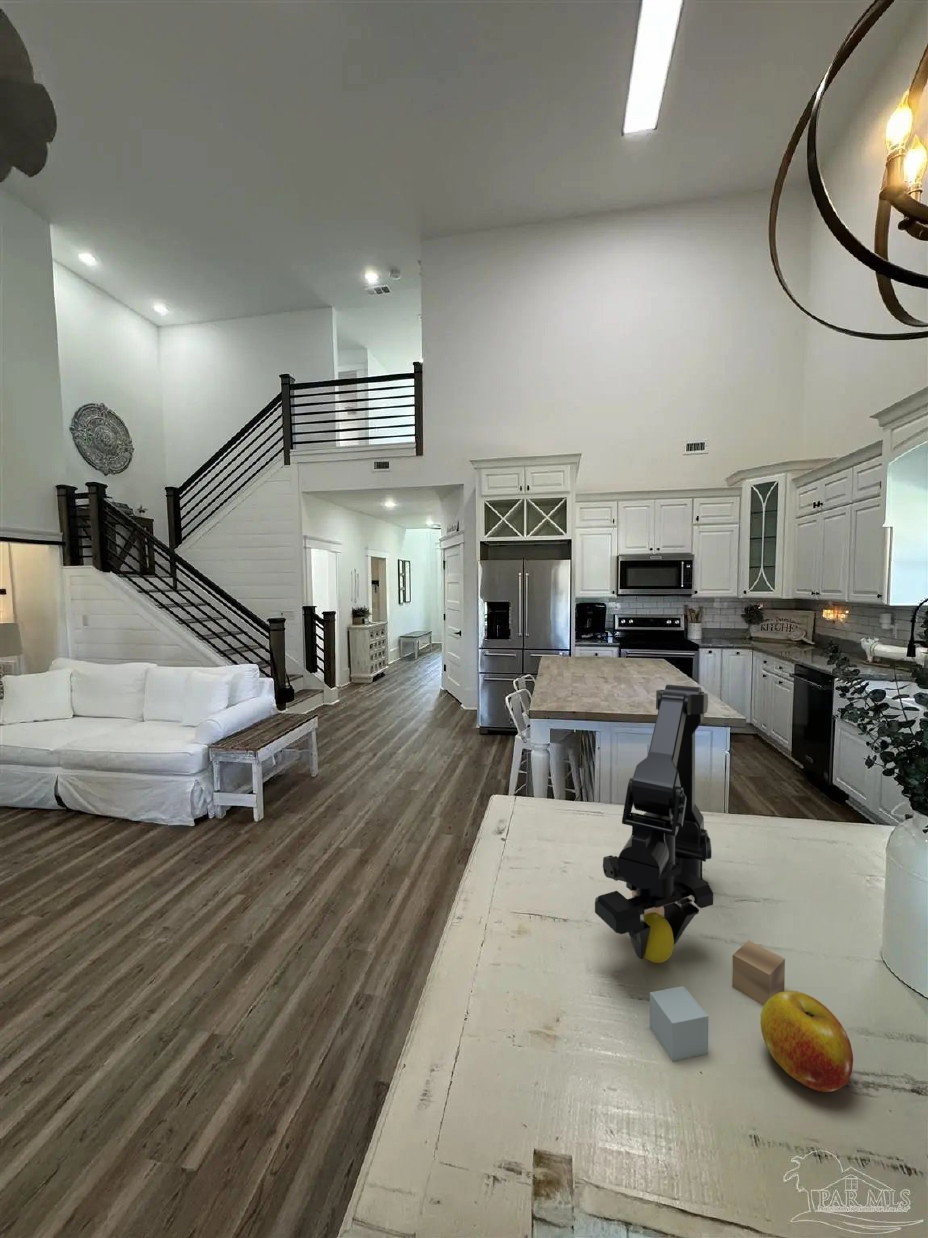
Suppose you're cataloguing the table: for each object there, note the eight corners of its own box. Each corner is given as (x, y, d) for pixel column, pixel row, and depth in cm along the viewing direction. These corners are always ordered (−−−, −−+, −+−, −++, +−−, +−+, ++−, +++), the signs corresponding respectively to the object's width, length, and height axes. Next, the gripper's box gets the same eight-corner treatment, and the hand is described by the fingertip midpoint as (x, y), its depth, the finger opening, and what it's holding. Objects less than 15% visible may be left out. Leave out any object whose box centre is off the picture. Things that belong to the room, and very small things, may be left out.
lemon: (677, 978, 76) (677, 926, 76) (638, 973, 78) (638, 922, 77) (669, 952, 82) (670, 904, 81) (633, 948, 83) (633, 900, 83)
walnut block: (748, 971, 78) (748, 940, 77) (784, 992, 74) (784, 959, 73) (732, 987, 75) (732, 954, 74) (769, 1009, 71) (769, 975, 70)
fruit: (874, 1101, 58) (876, 1034, 57) (805, 1117, 56) (806, 1048, 56) (804, 1030, 67) (805, 972, 67) (743, 1042, 66) (743, 982, 65)
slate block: (683, 1021, 69) (683, 986, 69) (708, 1054, 64) (708, 1016, 64) (649, 1028, 68) (649, 992, 68) (672, 1062, 63) (672, 1023, 63)
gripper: (664, 822, 90) (663, 908, 91) (574, 843, 83) (574, 936, 84) (716, 852, 79) (715, 948, 80) (618, 879, 72) (618, 984, 73)
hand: (654, 952), depth 80 cm, fingers closed on lemon, 5 cm apart
